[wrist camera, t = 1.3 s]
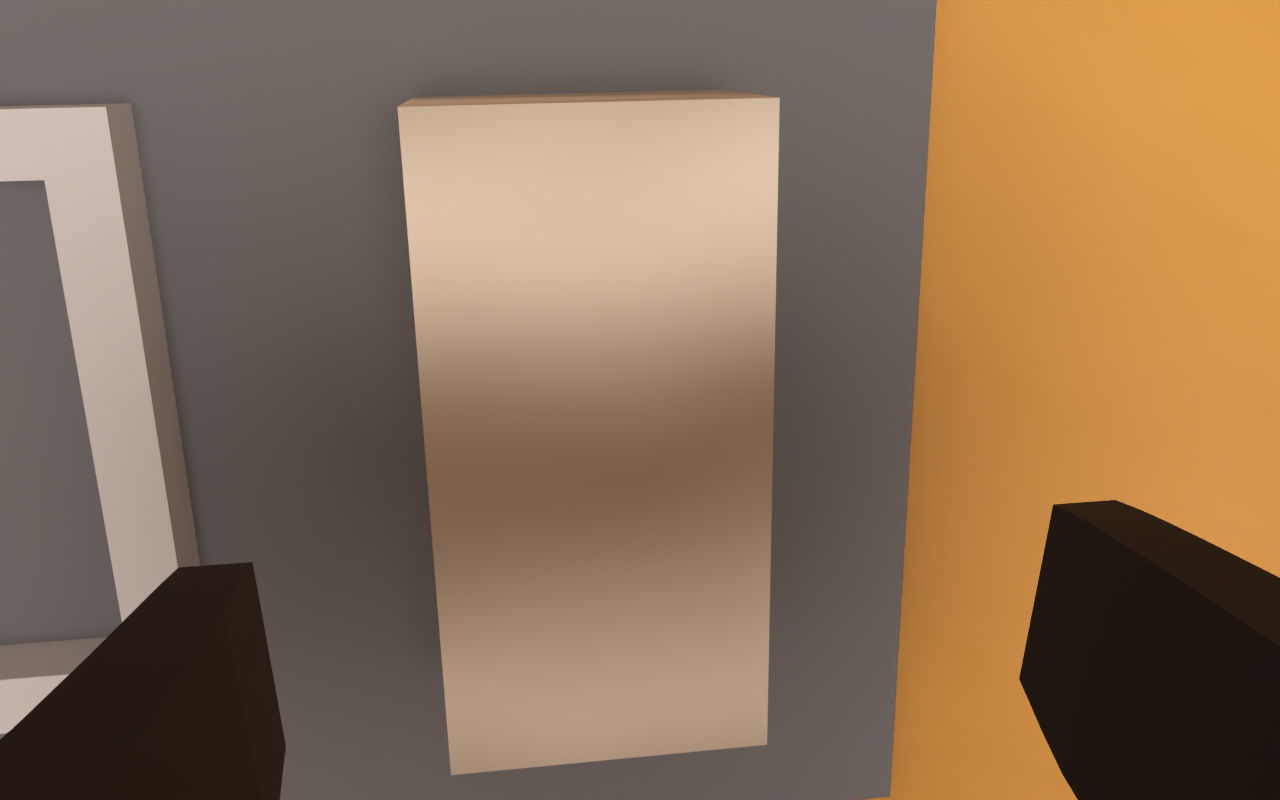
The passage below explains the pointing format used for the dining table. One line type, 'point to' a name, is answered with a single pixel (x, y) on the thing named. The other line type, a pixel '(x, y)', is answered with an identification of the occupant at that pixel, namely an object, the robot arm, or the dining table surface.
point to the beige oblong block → (597, 416)
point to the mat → (415, 353)
